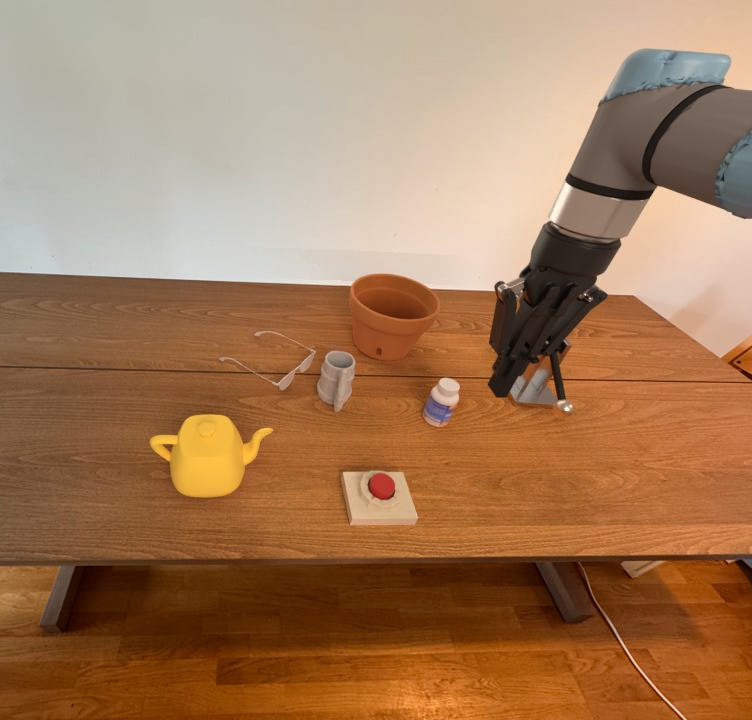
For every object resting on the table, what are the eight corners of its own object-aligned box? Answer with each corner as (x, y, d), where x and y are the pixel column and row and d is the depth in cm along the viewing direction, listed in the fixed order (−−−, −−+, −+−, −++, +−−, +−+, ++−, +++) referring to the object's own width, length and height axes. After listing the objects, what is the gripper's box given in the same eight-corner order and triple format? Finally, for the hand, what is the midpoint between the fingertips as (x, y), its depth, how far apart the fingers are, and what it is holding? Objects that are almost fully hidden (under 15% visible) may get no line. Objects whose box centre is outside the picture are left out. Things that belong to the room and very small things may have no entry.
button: (389, 478, 72) (391, 472, 71) (395, 499, 69) (398, 493, 68) (366, 478, 72) (368, 472, 71) (371, 499, 69) (374, 493, 68)
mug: (348, 383, 96) (358, 341, 88) (354, 421, 87) (366, 378, 79) (315, 381, 96) (322, 339, 88) (317, 419, 87) (325, 376, 79)
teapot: (271, 505, 71) (276, 460, 63) (150, 509, 69) (140, 463, 61) (266, 443, 81) (270, 397, 73) (161, 445, 79) (153, 398, 72)
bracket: (558, 409, 93) (594, 357, 84) (513, 405, 93) (544, 354, 84) (534, 373, 103) (565, 323, 93) (494, 370, 103) (520, 320, 93)
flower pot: (437, 346, 109) (457, 296, 100) (396, 383, 97) (413, 331, 88) (369, 312, 120) (381, 265, 111) (324, 342, 108) (333, 292, 98)
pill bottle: (444, 431, 86) (460, 397, 80) (418, 420, 88) (432, 386, 82) (450, 415, 90) (466, 382, 84) (425, 405, 92) (439, 371, 86)
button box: (399, 478, 77) (405, 465, 74) (414, 525, 70) (421, 512, 67) (340, 478, 76) (344, 465, 73) (349, 525, 69) (354, 512, 66)
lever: (568, 419, 86) (580, 415, 82) (550, 418, 86) (562, 413, 82) (553, 343, 92) (564, 336, 89) (536, 341, 92) (547, 334, 89)
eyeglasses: (277, 397, 91) (278, 383, 89) (216, 361, 99) (215, 348, 97) (315, 362, 101) (317, 349, 99) (256, 333, 109) (257, 320, 106)
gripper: (616, 218, 48) (526, 373, 63) (508, 214, 47) (442, 373, 62) (667, 246, 42) (555, 409, 57) (545, 242, 41) (463, 410, 56)
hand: (496, 390), depth 60 cm, fingers closed
